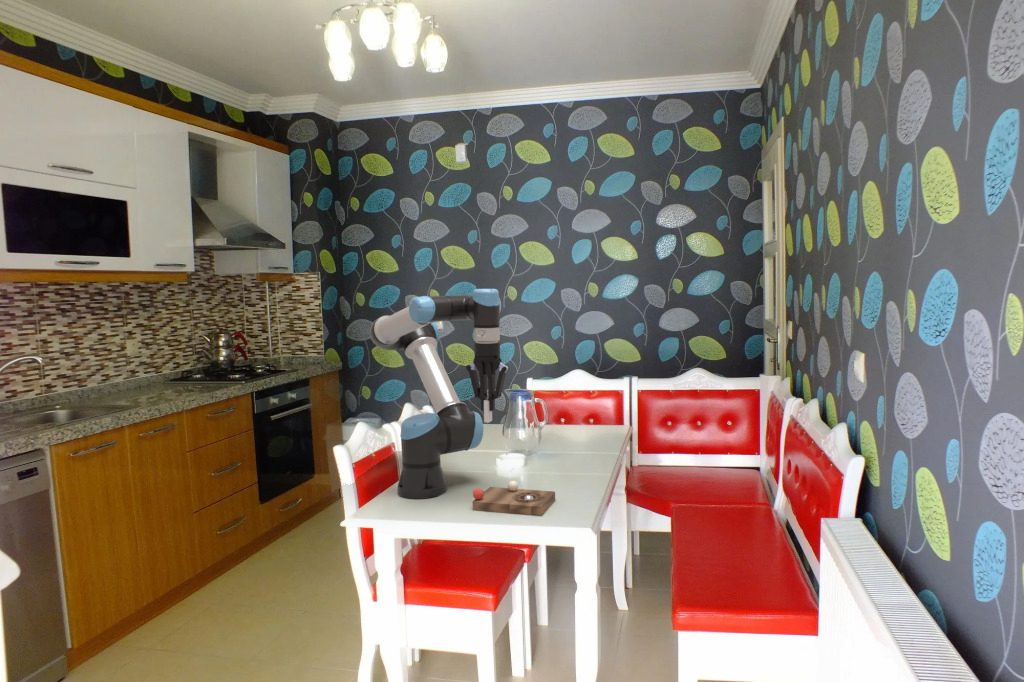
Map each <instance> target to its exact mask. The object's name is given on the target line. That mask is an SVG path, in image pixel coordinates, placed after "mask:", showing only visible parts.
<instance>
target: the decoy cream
mask: <svg viewBox="0 0 1024 682" xmlns="http://www.w3.org/2000/svg"><path fill="white" fill-rule="evenodd" d="M507 488H509V490H511V491H516V490H517V489H519V483H518V482H517V481H516V480H511V481H509V482H508V484H507Z"/></svg>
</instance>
